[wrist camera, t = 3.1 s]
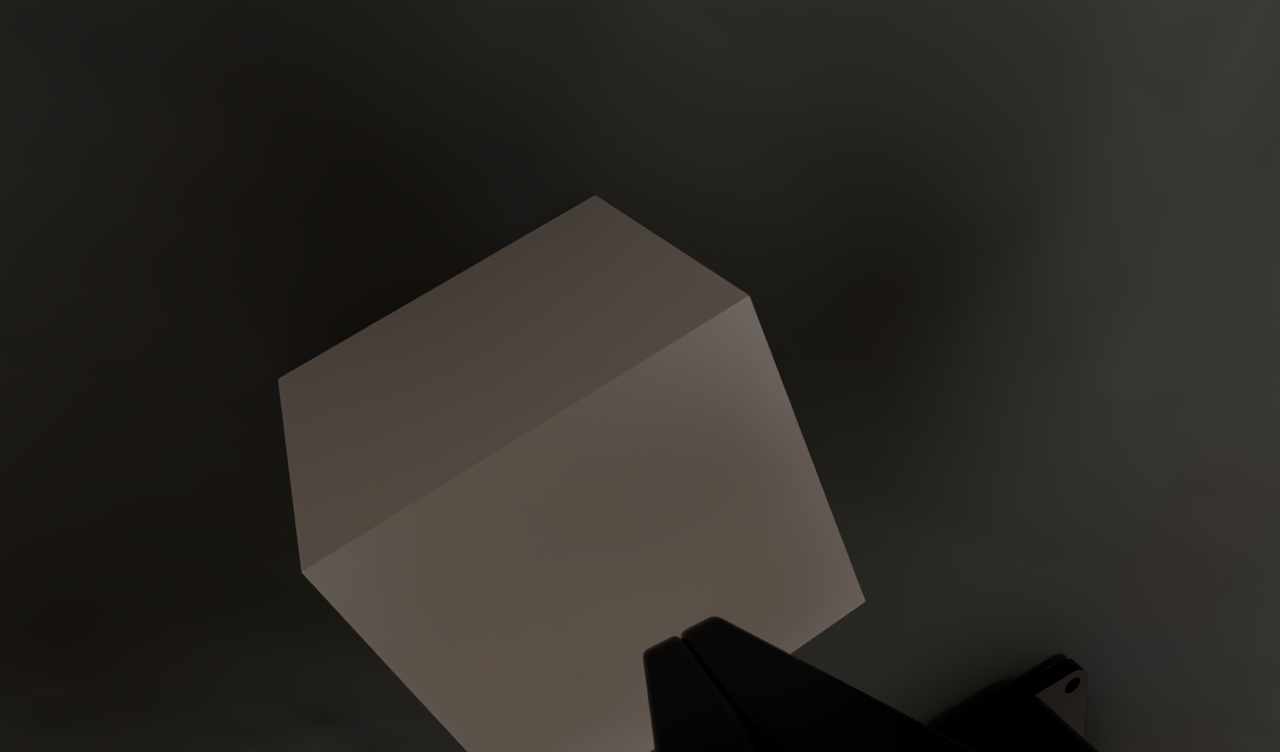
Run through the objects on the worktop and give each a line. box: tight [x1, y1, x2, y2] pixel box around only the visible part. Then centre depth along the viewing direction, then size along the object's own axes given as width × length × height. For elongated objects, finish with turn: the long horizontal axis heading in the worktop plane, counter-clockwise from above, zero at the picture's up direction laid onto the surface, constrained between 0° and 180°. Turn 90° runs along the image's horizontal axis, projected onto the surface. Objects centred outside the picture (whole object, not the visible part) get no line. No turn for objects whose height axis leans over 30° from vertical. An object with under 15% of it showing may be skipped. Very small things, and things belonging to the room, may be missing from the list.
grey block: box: [278, 195, 865, 752], centre depth 12 cm, size 5×5×4 cm
